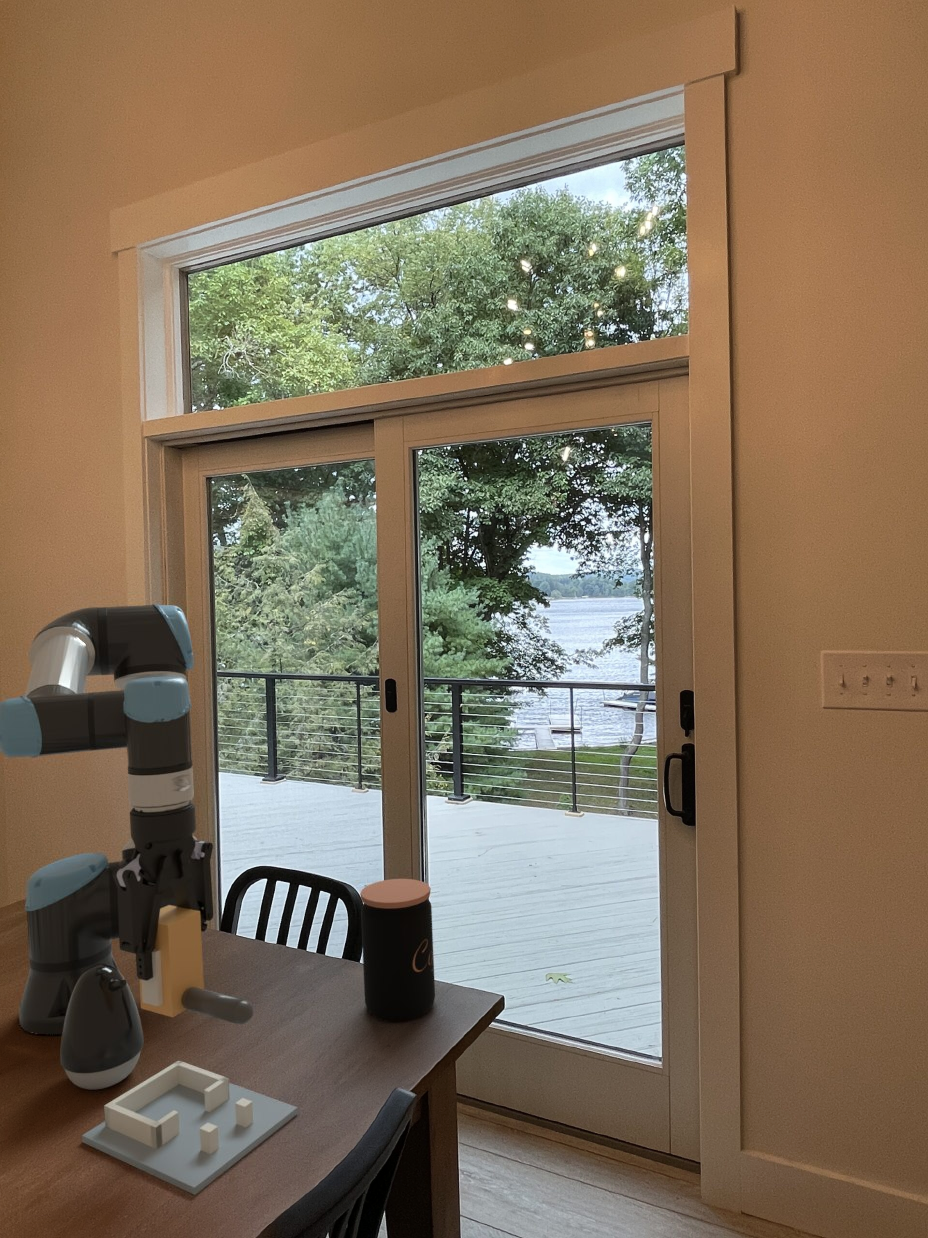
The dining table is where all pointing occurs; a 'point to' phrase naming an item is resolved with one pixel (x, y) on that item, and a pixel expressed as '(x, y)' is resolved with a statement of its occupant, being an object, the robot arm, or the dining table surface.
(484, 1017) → the dining table surface
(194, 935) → the plug
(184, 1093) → the board
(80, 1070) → the dark grey egg shape
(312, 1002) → the dining table surface
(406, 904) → the coffee jar
